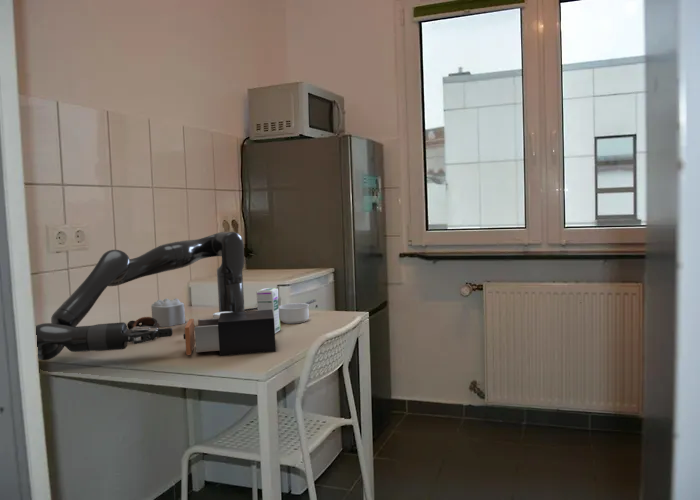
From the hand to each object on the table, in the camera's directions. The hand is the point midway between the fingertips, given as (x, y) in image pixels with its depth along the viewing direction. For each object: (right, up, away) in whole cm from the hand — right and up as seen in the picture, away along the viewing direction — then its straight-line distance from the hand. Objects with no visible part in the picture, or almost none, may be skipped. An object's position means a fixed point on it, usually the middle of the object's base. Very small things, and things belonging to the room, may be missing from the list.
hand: (172, 332), depth 159 cm
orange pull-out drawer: (+10, -5, +6) cm, 13 cm away
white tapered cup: (+9, -5, +28) cm, 30 cm away
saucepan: (+33, -2, +47) cm, 57 cm away
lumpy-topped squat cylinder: (-17, -4, +50) cm, 53 cm away
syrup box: (+24, -4, +27) cm, 37 cm away
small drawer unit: (+20, -6, +8) cm, 23 cm away
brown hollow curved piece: (-17, -6, +25) cm, 30 cm away
